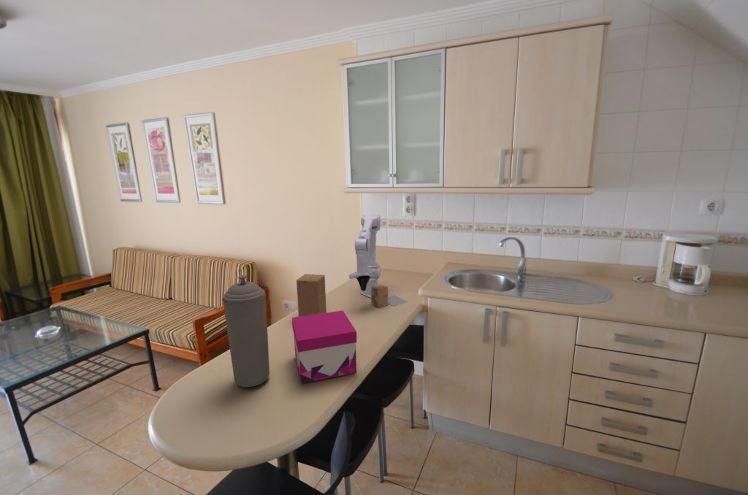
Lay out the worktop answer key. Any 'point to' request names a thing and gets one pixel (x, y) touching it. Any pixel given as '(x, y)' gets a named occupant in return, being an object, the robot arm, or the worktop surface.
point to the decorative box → (324, 345)
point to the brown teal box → (379, 296)
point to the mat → (395, 300)
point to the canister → (247, 332)
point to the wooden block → (311, 294)
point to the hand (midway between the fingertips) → (363, 290)
